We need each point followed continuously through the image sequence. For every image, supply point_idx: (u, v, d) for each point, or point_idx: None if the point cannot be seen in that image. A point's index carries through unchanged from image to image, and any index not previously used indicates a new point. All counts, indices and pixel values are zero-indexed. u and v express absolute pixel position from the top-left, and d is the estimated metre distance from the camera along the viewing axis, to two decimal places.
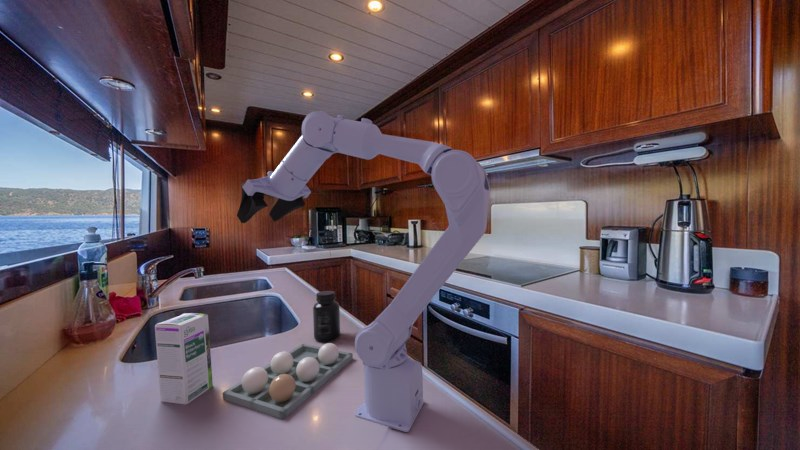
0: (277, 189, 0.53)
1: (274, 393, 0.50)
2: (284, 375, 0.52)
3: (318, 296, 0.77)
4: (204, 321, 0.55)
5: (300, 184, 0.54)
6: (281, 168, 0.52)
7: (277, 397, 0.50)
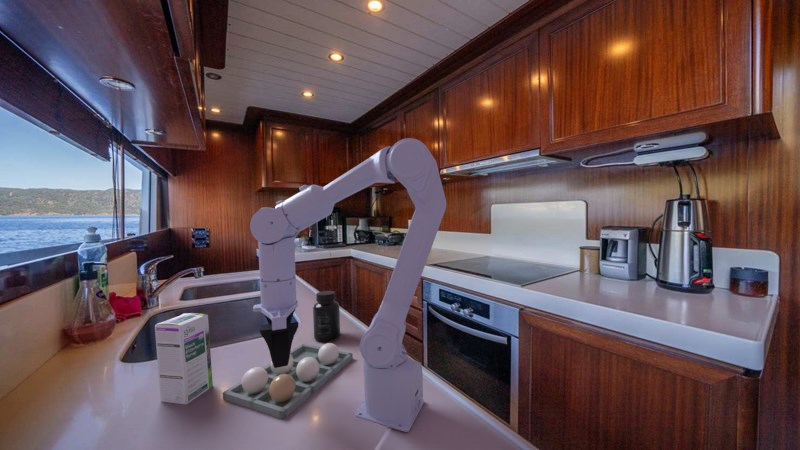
0: (287, 304, 0.49)
1: (274, 393, 0.50)
2: (284, 375, 0.52)
3: (318, 296, 0.77)
4: (204, 321, 0.55)
5: (295, 282, 0.52)
6: (274, 286, 0.48)
7: (277, 397, 0.50)
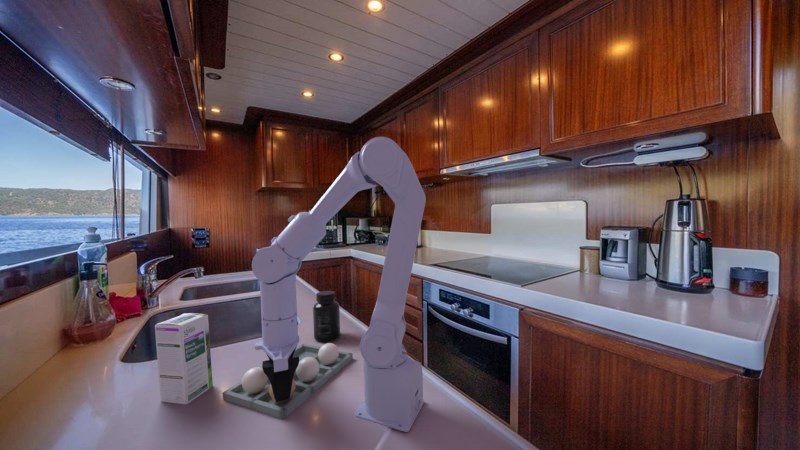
0: (288, 342, 0.50)
1: None
2: None
3: (318, 296, 0.77)
4: (204, 321, 0.55)
5: None
6: (276, 324, 0.49)
7: None
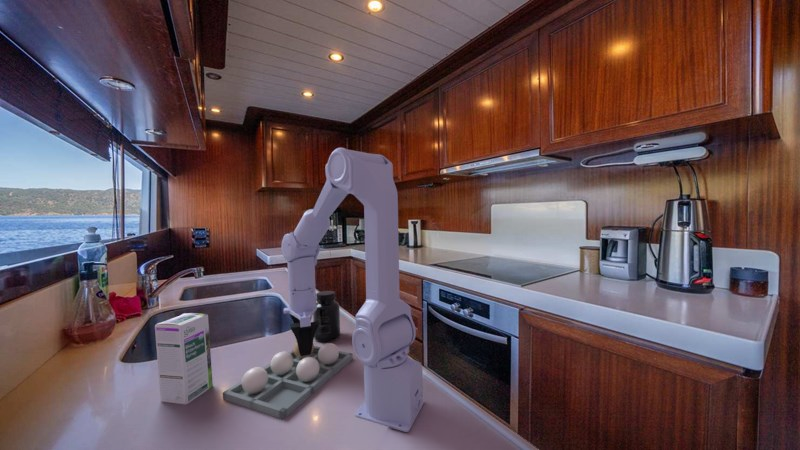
0: (309, 308, 0.64)
1: (297, 350, 0.65)
2: None
3: (318, 296, 0.77)
4: (204, 321, 0.55)
5: (315, 290, 0.67)
6: (300, 293, 0.63)
7: None
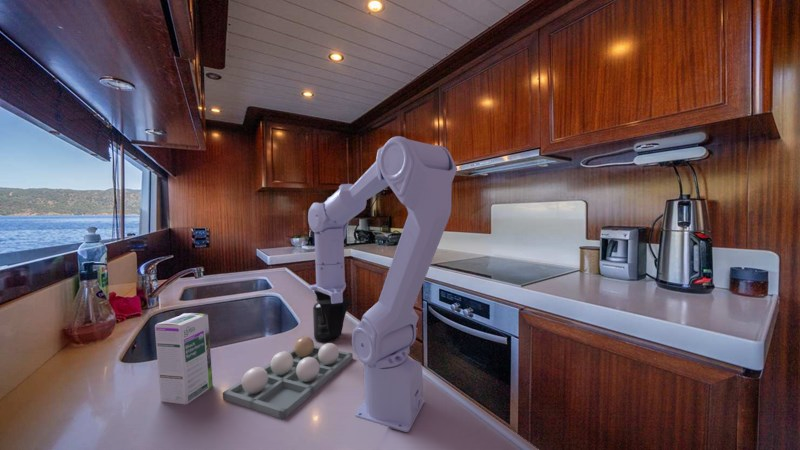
0: (339, 284, 0.58)
1: (298, 345, 0.66)
2: None
3: None
4: (204, 321, 0.55)
5: None
6: (329, 268, 0.57)
7: (301, 347, 0.66)
